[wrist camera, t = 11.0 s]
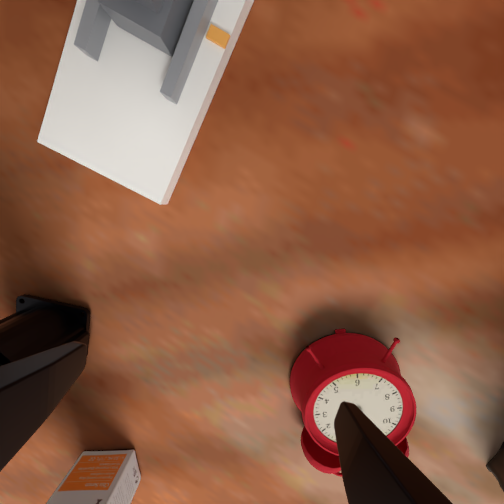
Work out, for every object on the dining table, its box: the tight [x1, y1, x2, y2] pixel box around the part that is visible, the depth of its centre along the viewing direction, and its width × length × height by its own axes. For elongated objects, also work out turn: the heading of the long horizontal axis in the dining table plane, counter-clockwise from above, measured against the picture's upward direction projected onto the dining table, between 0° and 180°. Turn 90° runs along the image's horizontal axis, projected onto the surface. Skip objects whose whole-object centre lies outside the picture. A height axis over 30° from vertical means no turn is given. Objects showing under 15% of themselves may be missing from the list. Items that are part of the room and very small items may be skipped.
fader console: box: [37, 0, 254, 204], centre depth 16 cm, size 22×10×3 cm, turn 153°
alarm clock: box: [290, 329, 416, 476], centre depth 21 cm, size 10×6×15 cm
